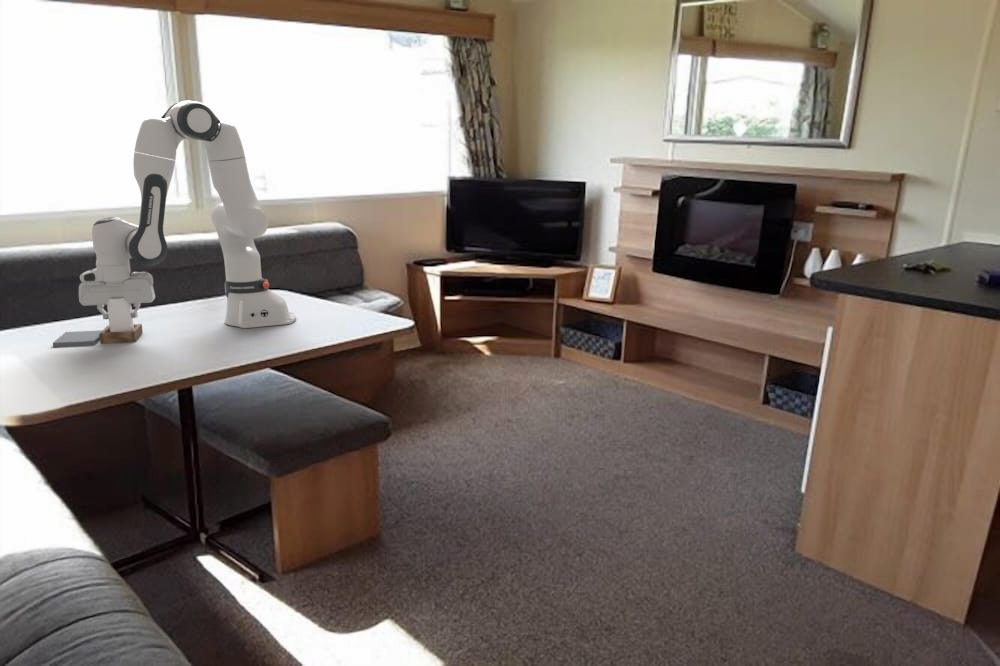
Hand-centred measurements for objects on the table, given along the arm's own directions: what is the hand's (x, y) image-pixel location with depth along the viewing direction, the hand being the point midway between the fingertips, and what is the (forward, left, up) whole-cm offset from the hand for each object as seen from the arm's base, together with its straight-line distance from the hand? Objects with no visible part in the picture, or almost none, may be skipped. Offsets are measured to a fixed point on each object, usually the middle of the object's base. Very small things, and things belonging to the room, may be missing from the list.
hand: (120, 318), depth 221 cm
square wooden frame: (0, 0, -6) cm, 6 cm away
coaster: (+12, 0, -6) cm, 13 cm away
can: (0, 0, -5) cm, 5 cm away
